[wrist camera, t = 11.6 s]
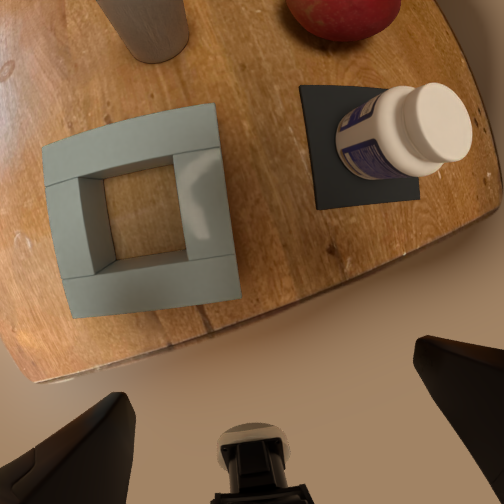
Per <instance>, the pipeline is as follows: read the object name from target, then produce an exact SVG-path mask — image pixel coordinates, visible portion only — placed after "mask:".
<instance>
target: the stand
mask: <svg viewBox="0 0 504 504" xmlns="http://www.w3.org/2000/svg"><path fill="white" fill-rule="evenodd" d="M42 159H43V173H44V184H45V187H46V188H45V193H46V201H47V209H48V215H49V222H50V228H51V233H52V239H53V244H54V249H55V254H56V258H57V263H58V267H59V271H60V275H61V279H62V283H63V287H64V291H65V294H66V298H67V301H68V304H69V308H70V311H71V314H72V317H73V318H86V317H97V316H107V315H117V314H127V313H136V312H145V311H153V310H162V309H170V308H178V307H185V306H193V305H200V304H207V303H214V302H221V301H228V300H235V299H241V298H242V293H241V287H240V280H239V274H238V267H237V260H236V254H235V246H234V240H233V233H232V226H231V219H230V212H229V204H228V197H227V190H226V183H225V175H224V168H223V160H222V153H221V145H220V137H219V130H218V122H217V114H216V106H215V103H208V104H201V105H195V106H189V107H183V108H177V109H172V110H167V111H162V112H157V113H153V114H148V115H144V116H139V117H135V118H131V119H127V120H123V121H120V122H116V123H112V124H109V125H105V126H102V127H98V128H95V129H92V130H89V131H85V132H82V133H79V134H76V135H73V136H70V137H68V138H65V139H62V140H59V141H56V142H54V143H51V144H49V145H46V146H43V147H42ZM171 164H174V171H175V178H176V186H177V193H178V200H179V207H180V213H181V220H182V226H183V232H184V238H185V244H186V249H185V250H179V251H172V252H166V253H159V254H153V255H147V256H140V257H134V258H128V259H122V260H116V256H115V251H114V246H113V241H112V236H111V231H110V225H109V219H108V213H107V206H106V200H105V192H104V185H103V180H102V179H106V178H110V177H114V176H118V175H123V174H127V173H131V172H136V171H141V170H145V169H150V168H155V167H160V166H165V165H171ZM115 260H116V261H115Z"/></svg>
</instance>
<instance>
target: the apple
mask: <svg viewBox="0 0 504 504" xmlns="http://www.w3.org/2000/svg"><path fill="white" fill-rule="evenodd" d="M285 1H286V4H287V6H288V8H289V10H290V11H291V13H292V15H293V16H294V17H295V19H296V20H297V21H298V22H299V23H300V25H301V26H302V27H303V28H305V29H306V30H307V31H308V32H310V33H312V34H314V35H316V36H318V37H321V38H324V39H327V40H332V41H339V42H347V41H357V40H362V39H365V38H368V37H371V36H373V35H375V34H377V33H379V32H381V31H382V30H384V29H385V28H386V27H388V26H389V25H390V24H391V23H392V22H393V20H394V19H395V18H396V16H397V15H398V12H399V10H400V6H401V0H285Z"/></svg>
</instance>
